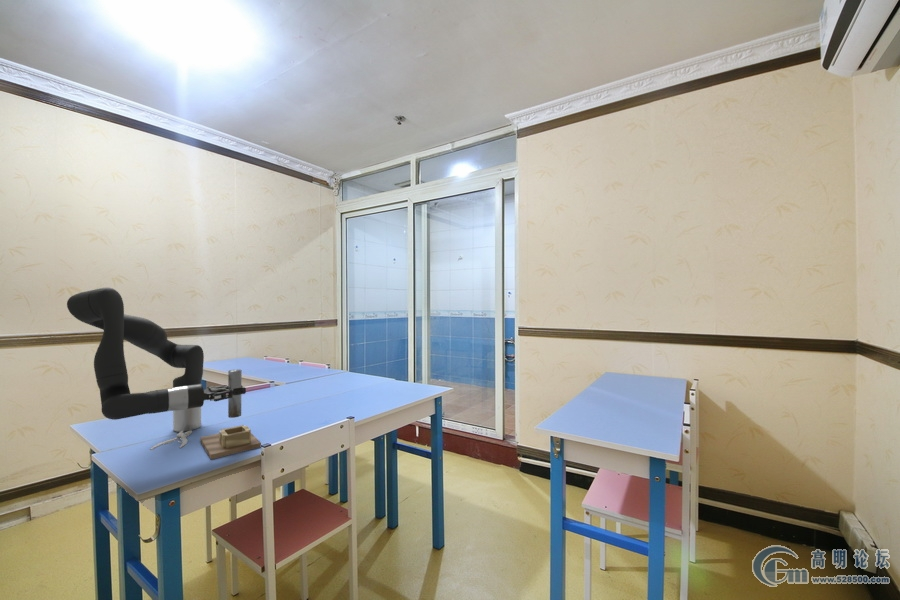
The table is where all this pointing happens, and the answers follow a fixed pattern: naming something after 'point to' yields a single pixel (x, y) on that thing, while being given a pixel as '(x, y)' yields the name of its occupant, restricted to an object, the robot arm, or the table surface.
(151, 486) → the table surface
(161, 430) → the table surface
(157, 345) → the robot arm
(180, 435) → the pliers
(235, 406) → the steel pin
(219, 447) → the socket board
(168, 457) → the table surface
